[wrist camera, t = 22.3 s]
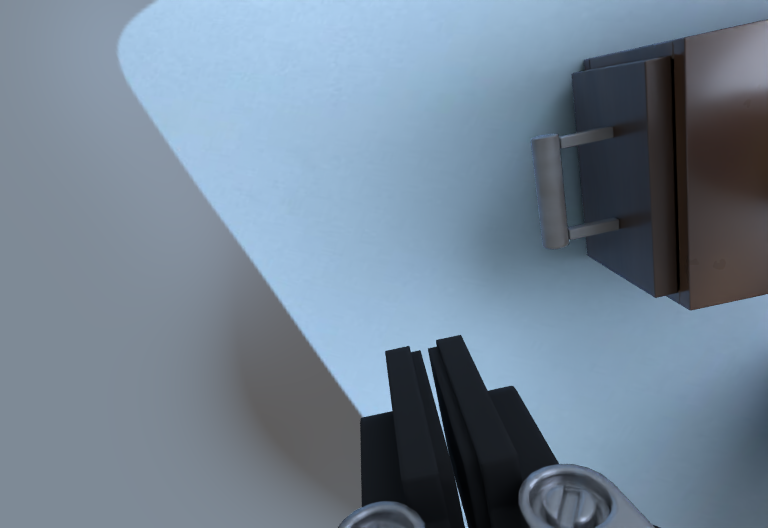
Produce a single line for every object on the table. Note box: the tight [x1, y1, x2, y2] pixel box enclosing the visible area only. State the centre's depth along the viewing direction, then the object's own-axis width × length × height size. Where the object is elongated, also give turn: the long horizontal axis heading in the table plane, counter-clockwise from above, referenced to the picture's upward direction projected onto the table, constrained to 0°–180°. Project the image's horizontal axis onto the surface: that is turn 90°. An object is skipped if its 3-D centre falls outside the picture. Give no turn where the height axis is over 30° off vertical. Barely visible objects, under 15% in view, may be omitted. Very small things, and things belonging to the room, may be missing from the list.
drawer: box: [531, 56, 679, 298], centre depth 27 cm, size 18×11×8 cm, turn 102°
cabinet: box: [584, 19, 768, 310], centre depth 27 cm, size 15×13×10 cm
